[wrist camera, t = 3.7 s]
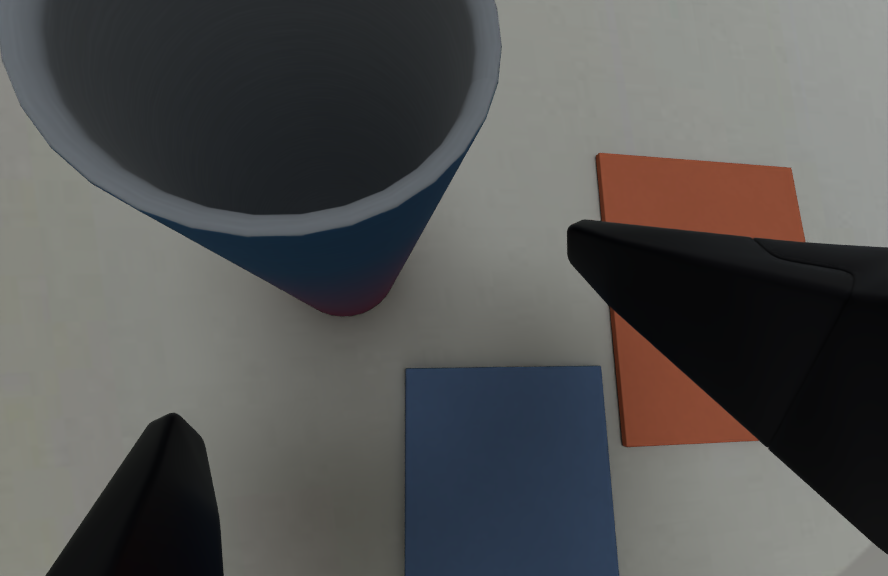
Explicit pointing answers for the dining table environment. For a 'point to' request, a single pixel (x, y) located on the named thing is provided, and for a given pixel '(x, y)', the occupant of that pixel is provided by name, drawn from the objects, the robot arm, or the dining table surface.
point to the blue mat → (507, 473)
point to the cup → (266, 121)
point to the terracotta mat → (695, 209)
